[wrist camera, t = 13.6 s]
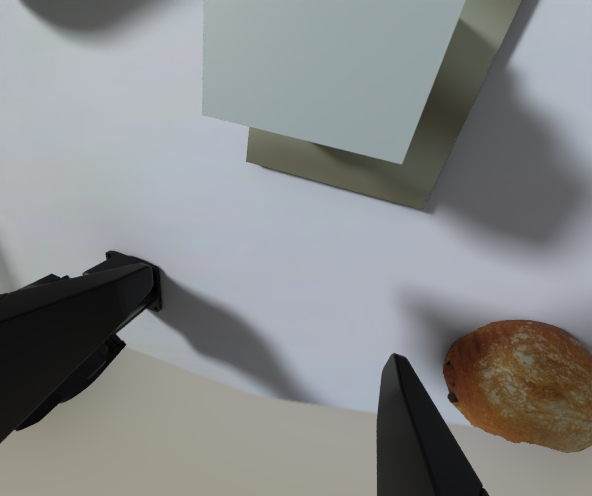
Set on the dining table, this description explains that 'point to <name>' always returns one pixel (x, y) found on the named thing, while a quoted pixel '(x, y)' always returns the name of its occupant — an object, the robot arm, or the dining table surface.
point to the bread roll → (524, 384)
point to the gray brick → (326, 68)
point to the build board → (430, 129)
